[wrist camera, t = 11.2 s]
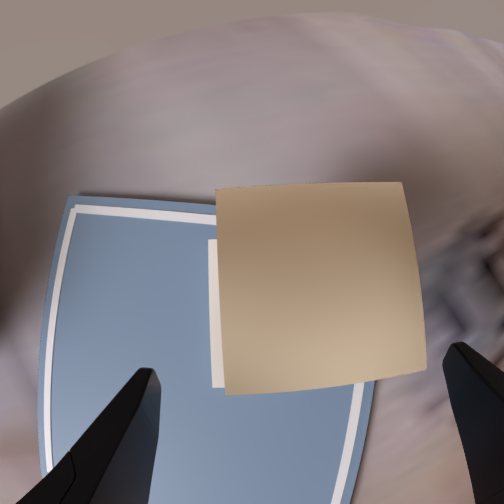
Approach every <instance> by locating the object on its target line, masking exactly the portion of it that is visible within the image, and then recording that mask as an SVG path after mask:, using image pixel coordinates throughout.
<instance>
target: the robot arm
mask: <svg viewBox="0 0 504 504" xmlns="http://www.w3.org/2000/svg"><path fill="white" fill-rule="evenodd" d="M442 366H443V371H444V375H445V380H446V384H447V388H448V393H449V398H450V402H451V407H452V410H453V414H454V417H455V420H456V424H457V427H458V431H459V434H460V438H461V441H462V445H463V449H464V453H465V457H466V461H467V465H468V469H469V474H470V478H471V483H472V488H473V493H474V498H475V504H504V372H503V371H501V370H500V369H499V368H498V367H496V366H495V365H494V364H492V363H491V362H490V361H488V360H487V359H486V358H484V357H483V356H482V355H480V354H479V353H478V352H476V351H475V350H474V349H472V348H471V347H470V346H468V345H467V344H466V343H464V342H456V343H452V344H451V345H450V347H449V349H448V351H447V353H446V355H445V357H444V359H443V363H442ZM161 392H162V390H161V384H160V381H159V379H158V377H157V374H156V372H155V370H154V369H153V368H147V367H141V368H139V369H138V370H137V371H136V372H135V373H134V375H133V376H132V377H131V378H130V379H129V380H128V382H127V383H126V384H125V385H124V386H123V387H122V389H121V390H120V391H119V392H118V393H117V394H116V396H115V397H114V398H113V399H112V400H111V401H110V403H109V404H108V405H107V406H106V407H105V408H104V410H103V411H102V412H101V413H100V414H99V415H98V417H97V418H96V419H95V420H94V421H93V423H92V424H91V425H90V426H89V427H88V428H87V430H86V431H85V432H84V433H83V434H82V435H81V437H80V438H79V439H78V440H77V441H76V443H75V444H74V445H73V446H72V447H71V448H70V451H68V452H67V453H66V454H65V455H64V457H63V458H62V459H61V460H60V461H59V462H58V463H57V465H56V466H55V467H54V468H53V469H52V470H51V471H50V472H49V473H48V474H47V475H46V476H45V477H44V478H43V479H42V480H41V481H40V482H39V483H38V484H37V485H36V486H35V487H33V488H32V489H31V490H30V491H29V492H28V493H27V494H26V495H25V496H24V497H23V498H21V499H20V500H19V501H18V502H17V503H16V504H148V502H149V495H150V488H151V481H152V475H153V468H154V462H155V456H156V450H157V444H158V438H159V425H160V407H161Z"/></svg>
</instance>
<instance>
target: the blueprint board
mask: <svg viewBox="0 0 504 504" xmlns="http://www.w3.org/2000/svg"><path fill="white" fill-rule="evenodd" d="M209 239H217V226H216V205H209V204H197V203H185V202H172V201H159V200H145V199H129V198H113V197H94V196H73V195H68V198H67V202H66V205H65V209H64V212H63V216H62V220H61V224H60V228H59V232H58V236H57V240H56V245H55V249H54V254H53V259H52V264H51V269H50V274H49V280H48V286H47V292H46V299H45V305H44V313H43V321H42V330H41V340H40V352H39V368H38V439H39V454H40V465H41V475H42V478H44V477H45V476H46V475H47V474H48V473H49V472H50V471H51V470H52V469H53V468H54V467H55V466H56V465H57V463H58V462H59V461H60V460H61V459H62V458H63V457H64V455H65V454H66V453H67V452H68V451H70V448H71V447H72V446H73V445H74V444H75V443H76V441H77V440H78V439H79V438H80V437H81V435H82V434H83V433H84V432H85V431H86V430H87V428H88V427H89V426H90V425H91V424H92V423H93V421H94V420H95V419H96V418H97V417H98V415H99V414H100V413H101V412H102V411H103V410H104V408H105V407H106V406H107V405H108V404H109V403H110V401H111V400H112V399H113V398H114V397H115V396H116V394H117V393H118V392H119V391H120V390H121V389H122V387H123V386H124V385H125V384H126V383H127V382H128V380H129V379H130V378H131V377H132V376H133V375H134V373H135V372H136V371H137V370H138V369H139V368H141V367H147V368H153V369H154V370H155V372H156V374H157V377H158V379H159V381H160V384H161V390H162V392H161V407H160V425H159V438H158V444H157V450H156V456H155V462H154V468H153V475H152V481H151V488H150V495H149V502H148V504H350V500H351V496H352V493H353V489H354V485H355V481H356V477H357V473H358V469H359V464H360V460H361V456H362V451H363V446H364V441H365V436H366V431H367V426H368V421H369V415H370V409H371V403H372V397H373V390H374V383H375V380H374V381H368V382H362V383H356V384H349V385H343V386H336V387H328V388H320V389H311V390H302V391H292V392H280V393H267V394H250V395H225V388H212V371H211V347H210V317H209V270H208V240H209Z"/></svg>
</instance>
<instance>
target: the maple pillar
mask: <svg viewBox="0 0 504 504" xmlns="http://www.w3.org/2000/svg"><path fill="white" fill-rule="evenodd" d="M216 226H217V255H218V279H219V301H220V320H221V337H222V354H223V369H224V384H225V395H250V394H267V393H280V392H292V391H302V390H311V389H320V388H328V387H336V386H343V385H349V384H356V383H362V382H368V381H374V380H379V379H385V378H390V377H395V376H400V375H405V374H409V373H414V372H418V371H423V370H427V360H426V340H425V325H424V313H423V303H422V294H421V286H420V278H419V270H418V263H417V257H416V251H415V245H414V239H413V233H412V228H411V223H410V218H409V213H408V208H407V203H406V199H405V194H404V190H403V186H402V182H340V183H308V184H285V185H266V186H250V187H235V188H222V189H216Z"/></svg>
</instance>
